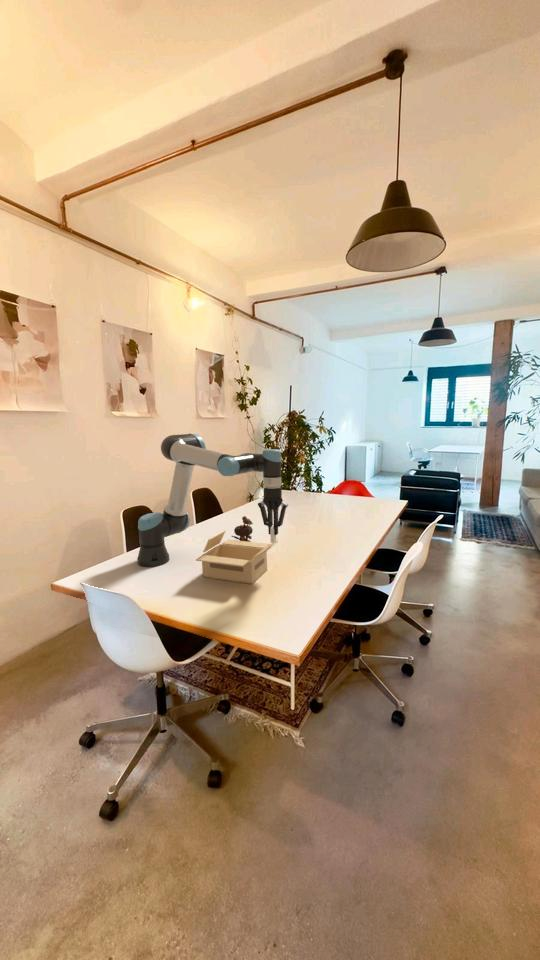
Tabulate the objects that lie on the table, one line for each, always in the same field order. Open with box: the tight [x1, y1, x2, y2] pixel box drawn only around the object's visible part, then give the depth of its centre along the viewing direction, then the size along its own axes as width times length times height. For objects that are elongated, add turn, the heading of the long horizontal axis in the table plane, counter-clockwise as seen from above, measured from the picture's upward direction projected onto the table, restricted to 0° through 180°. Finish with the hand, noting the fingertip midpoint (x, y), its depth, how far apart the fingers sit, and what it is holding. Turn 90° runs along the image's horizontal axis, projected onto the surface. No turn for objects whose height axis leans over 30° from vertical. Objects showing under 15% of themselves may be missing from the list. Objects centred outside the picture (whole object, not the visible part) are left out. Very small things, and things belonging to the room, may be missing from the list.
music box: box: [231, 515, 254, 542], centre depth 194 cm, size 15×11×20 cm
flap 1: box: [203, 529, 226, 553], centre depth 171 cm, size 1×14×7 cm, turn 160°
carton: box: [195, 539, 271, 585], centre depth 169 cm, size 24×28×10 cm
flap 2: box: [252, 539, 279, 559], centre depth 162 cm, size 1×14×7 cm
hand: (273, 541), depth 160 cm, fingers closed
